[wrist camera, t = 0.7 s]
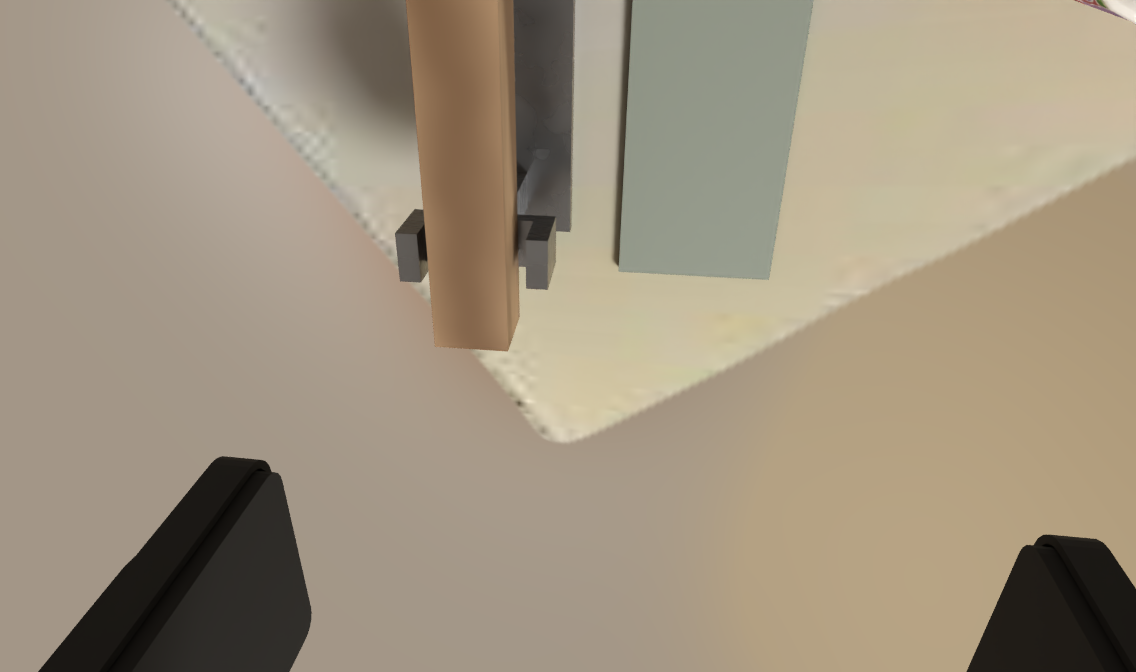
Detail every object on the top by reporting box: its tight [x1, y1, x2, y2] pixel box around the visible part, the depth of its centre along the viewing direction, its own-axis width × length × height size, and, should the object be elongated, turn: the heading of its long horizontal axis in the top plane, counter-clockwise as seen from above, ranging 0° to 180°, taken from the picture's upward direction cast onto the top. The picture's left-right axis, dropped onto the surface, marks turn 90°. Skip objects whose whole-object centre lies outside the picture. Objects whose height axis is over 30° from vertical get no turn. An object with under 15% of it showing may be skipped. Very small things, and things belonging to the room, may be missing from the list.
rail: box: [406, 0, 520, 351], centre depth 32 cm, size 4×22×4 cm, turn 179°
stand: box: [395, 0, 575, 290], centre depth 36 cm, size 7×19×11 cm, turn 179°
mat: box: [619, 0, 813, 280], centre depth 40 cm, size 9×24×1 cm, turn 179°
